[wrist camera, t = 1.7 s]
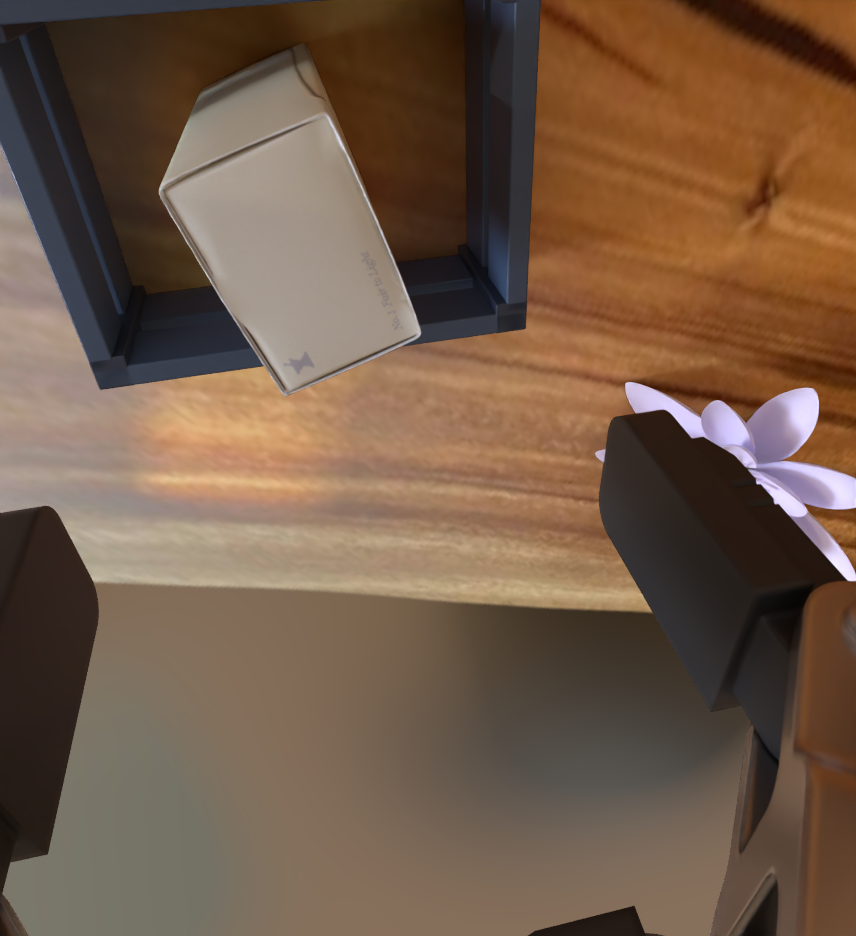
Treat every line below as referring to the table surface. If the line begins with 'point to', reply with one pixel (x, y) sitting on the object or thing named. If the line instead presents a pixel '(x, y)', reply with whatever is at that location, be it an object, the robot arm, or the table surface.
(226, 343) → the crate
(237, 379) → the table surface
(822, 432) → the table surface
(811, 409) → the water lily
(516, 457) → the table surface
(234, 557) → the table surface
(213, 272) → the cosmetic box
